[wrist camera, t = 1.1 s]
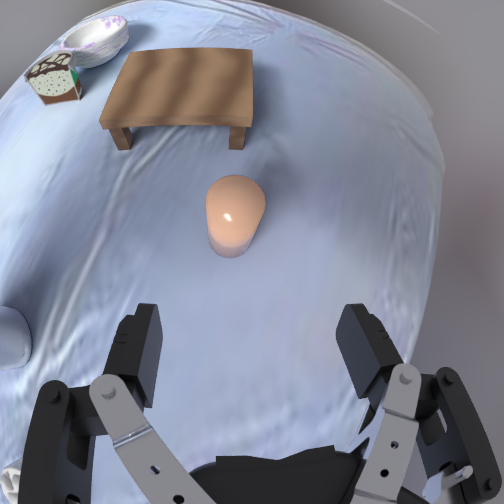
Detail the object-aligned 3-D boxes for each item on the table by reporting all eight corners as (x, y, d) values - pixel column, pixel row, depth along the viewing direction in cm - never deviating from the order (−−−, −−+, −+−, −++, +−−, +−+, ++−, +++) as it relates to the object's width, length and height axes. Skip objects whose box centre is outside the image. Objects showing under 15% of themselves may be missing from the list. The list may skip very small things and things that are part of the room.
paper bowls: (141, 36, 45) (138, 10, 37) (112, 74, 41) (104, 45, 33) (89, 42, 43) (82, 19, 36) (57, 80, 39) (46, 56, 32)
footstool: (114, 153, 36) (98, 120, 29) (137, 84, 40) (130, 52, 33) (245, 152, 39) (252, 117, 31) (246, 83, 43) (252, 49, 35)
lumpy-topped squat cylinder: (19, 480, 20) (-4, 496, 11) (26, 438, 23) (-4, 454, 15) (66, 515, 20) (47, 538, 11) (78, 479, 23) (54, 504, 15)
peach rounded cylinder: (207, 257, 34) (204, 228, 24) (209, 216, 36) (207, 174, 25) (250, 258, 35) (266, 230, 24) (250, 218, 36) (264, 176, 26)
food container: (98, 78, 40) (85, 42, 30) (86, 99, 38) (70, 62, 29) (53, 86, 39) (37, 55, 29) (40, 106, 37) (21, 75, 28)
